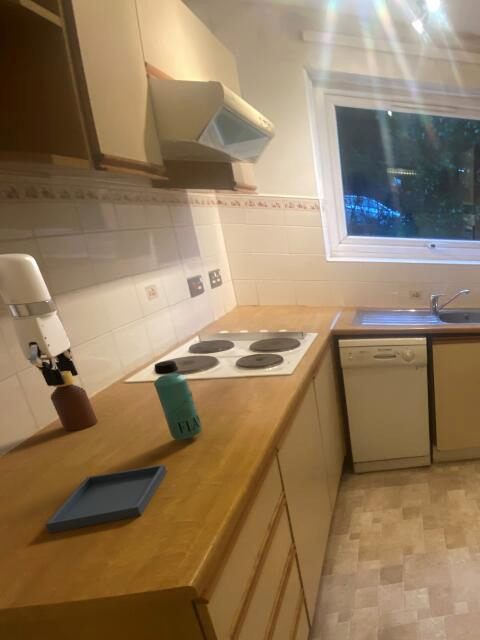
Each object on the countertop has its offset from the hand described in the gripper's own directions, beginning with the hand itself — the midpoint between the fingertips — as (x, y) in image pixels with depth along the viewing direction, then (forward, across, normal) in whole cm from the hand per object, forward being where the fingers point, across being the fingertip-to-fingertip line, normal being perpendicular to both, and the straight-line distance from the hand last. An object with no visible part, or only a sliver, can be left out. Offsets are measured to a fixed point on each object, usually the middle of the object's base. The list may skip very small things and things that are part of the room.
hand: (63, 379), depth 108 cm
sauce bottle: (+13, 0, 0) cm, 13 cm away
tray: (+13, +41, +21) cm, 48 cm away
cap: (-1, 0, 0) cm, 1 cm away
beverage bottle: (+13, +18, +28) cm, 36 cm away
